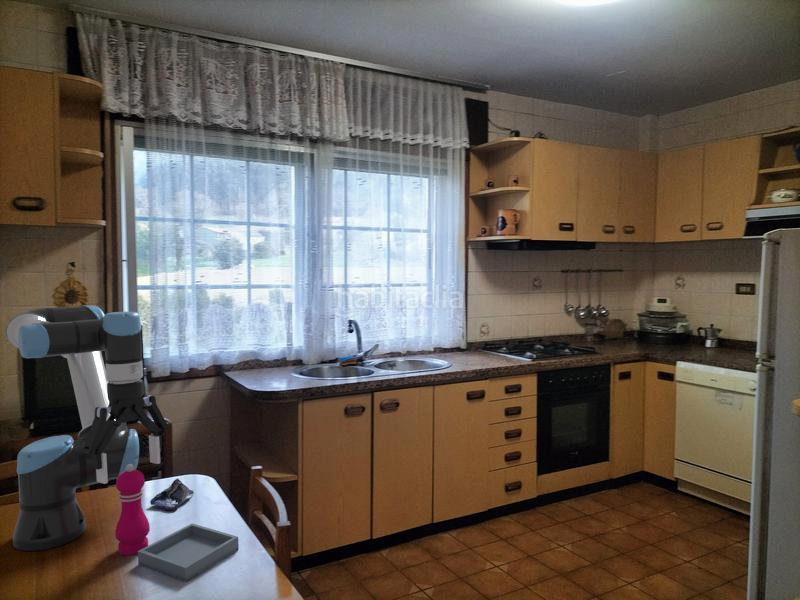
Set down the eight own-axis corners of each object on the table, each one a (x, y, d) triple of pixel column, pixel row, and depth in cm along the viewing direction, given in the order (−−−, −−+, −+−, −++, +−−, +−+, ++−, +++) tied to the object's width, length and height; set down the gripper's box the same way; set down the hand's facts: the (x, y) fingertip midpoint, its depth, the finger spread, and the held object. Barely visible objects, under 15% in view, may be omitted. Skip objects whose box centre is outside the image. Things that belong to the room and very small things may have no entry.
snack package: (206, 503, 159) (189, 490, 168) (201, 482, 158) (185, 470, 167) (162, 524, 152) (147, 509, 160) (157, 502, 150) (142, 488, 159)
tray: (138, 564, 127) (137, 551, 127) (192, 535, 140) (192, 523, 140) (186, 581, 120) (185, 567, 119) (238, 549, 133) (238, 536, 132)
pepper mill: (137, 558, 129) (133, 470, 128) (109, 555, 131) (104, 469, 129) (156, 542, 136) (153, 459, 135) (129, 540, 138) (125, 458, 137)
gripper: (82, 393, 118) (88, 494, 119) (181, 371, 140) (185, 457, 141) (60, 390, 122) (66, 488, 123) (160, 369, 143) (164, 453, 145)
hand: (129, 472), depth 132 cm, fingers open, 13 cm apart
